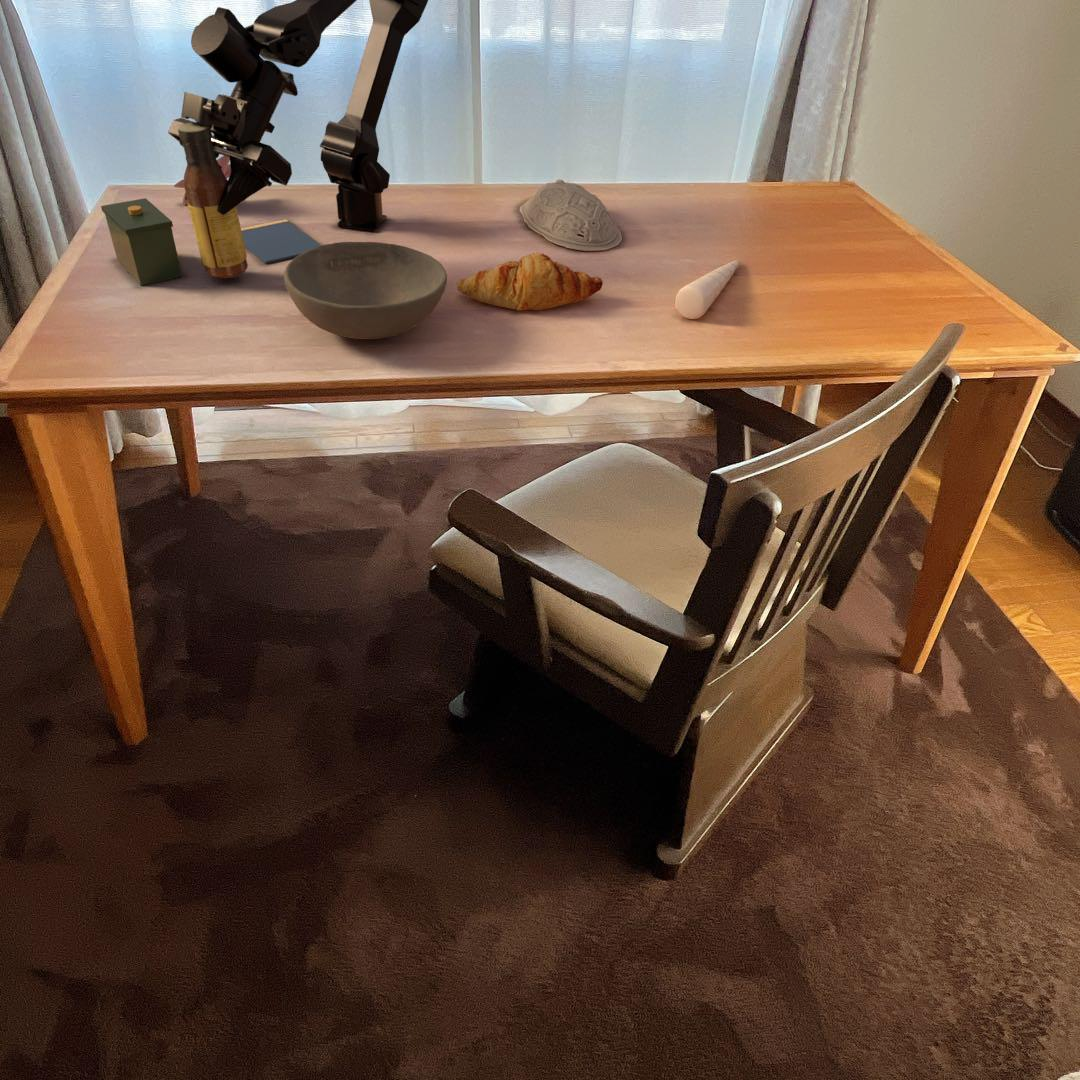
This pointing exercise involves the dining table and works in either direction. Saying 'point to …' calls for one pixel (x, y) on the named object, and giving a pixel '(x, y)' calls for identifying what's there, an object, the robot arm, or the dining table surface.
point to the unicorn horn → (703, 291)
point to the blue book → (276, 241)
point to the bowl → (365, 288)
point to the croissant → (530, 284)
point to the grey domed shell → (578, 204)
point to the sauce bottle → (210, 205)
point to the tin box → (143, 240)
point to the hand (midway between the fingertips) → (204, 207)
